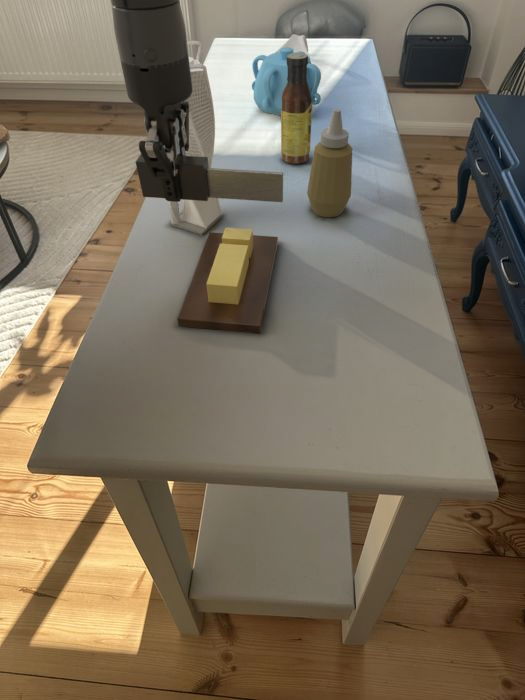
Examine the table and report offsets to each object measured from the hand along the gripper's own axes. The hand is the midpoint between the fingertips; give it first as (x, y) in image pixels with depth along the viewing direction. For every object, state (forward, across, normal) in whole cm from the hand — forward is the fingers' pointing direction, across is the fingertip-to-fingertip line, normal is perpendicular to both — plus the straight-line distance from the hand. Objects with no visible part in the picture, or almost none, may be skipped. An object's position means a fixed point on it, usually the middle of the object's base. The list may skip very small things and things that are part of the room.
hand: (176, 194), depth 66 cm
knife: (0, 0, +5) cm, 5 cm away
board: (+15, -1, +7) cm, 17 cm away
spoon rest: (+16, -102, +5) cm, 103 cm away
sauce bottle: (+16, -44, +12) cm, 48 cm away
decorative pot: (+16, -71, +6) cm, 73 cm away
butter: (+14, +1, +7) cm, 15 cm away
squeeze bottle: (+16, -24, +20) cm, 35 cm away
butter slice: (+14, -7, +6) cm, 17 cm away
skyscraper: (+15, -18, -3) cm, 24 cm away
